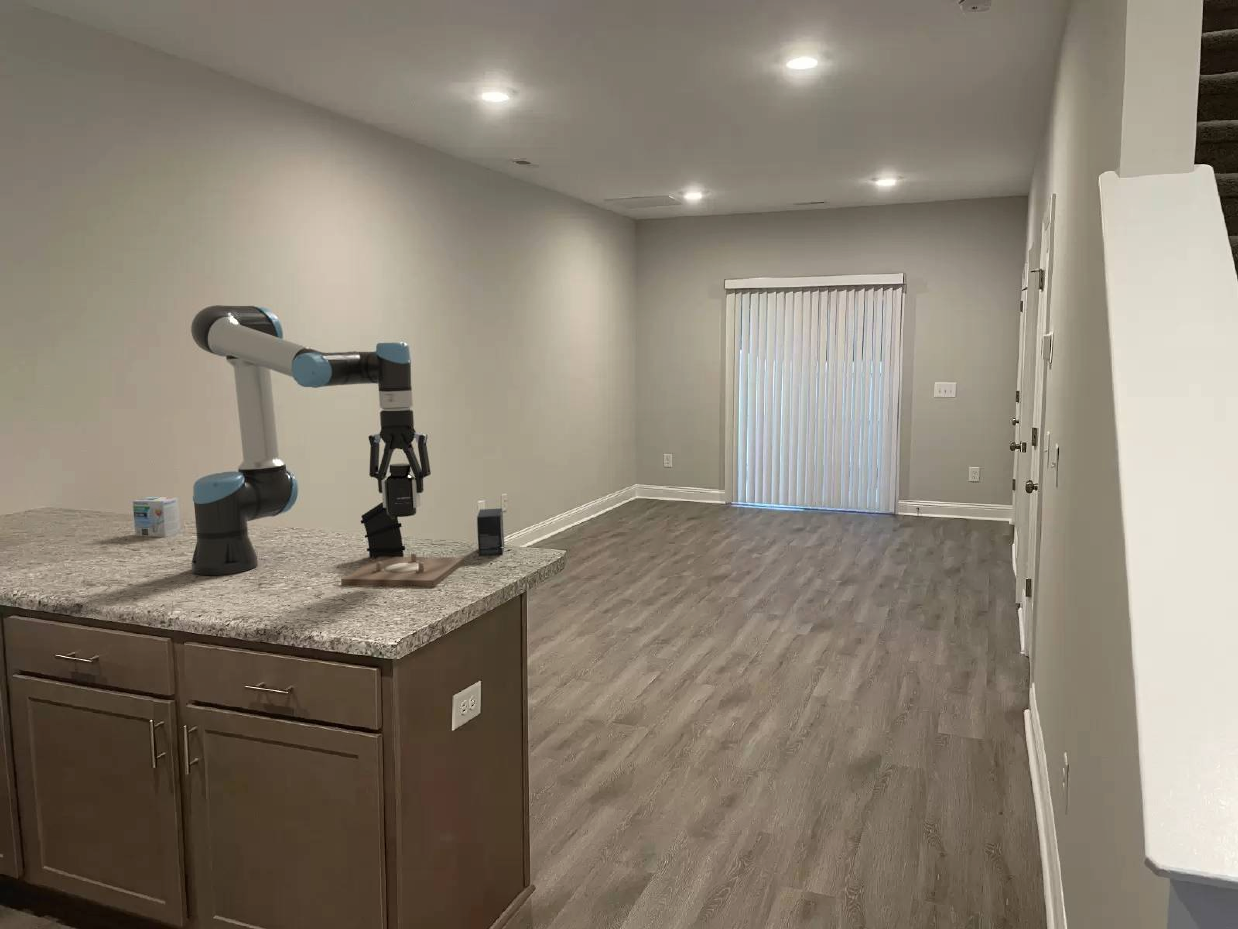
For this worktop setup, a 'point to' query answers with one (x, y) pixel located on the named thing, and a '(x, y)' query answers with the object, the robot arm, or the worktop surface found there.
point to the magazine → (382, 533)
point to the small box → (490, 532)
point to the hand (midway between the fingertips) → (401, 506)
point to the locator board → (403, 571)
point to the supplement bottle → (400, 491)
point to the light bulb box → (156, 516)
